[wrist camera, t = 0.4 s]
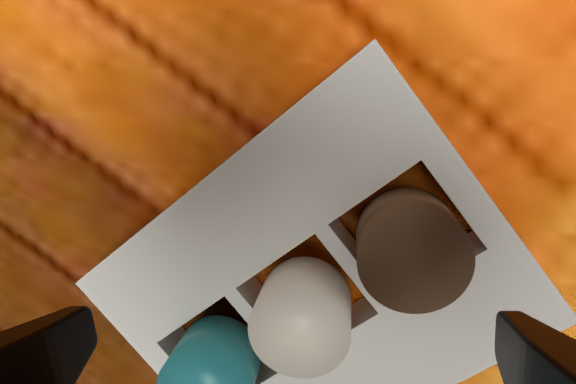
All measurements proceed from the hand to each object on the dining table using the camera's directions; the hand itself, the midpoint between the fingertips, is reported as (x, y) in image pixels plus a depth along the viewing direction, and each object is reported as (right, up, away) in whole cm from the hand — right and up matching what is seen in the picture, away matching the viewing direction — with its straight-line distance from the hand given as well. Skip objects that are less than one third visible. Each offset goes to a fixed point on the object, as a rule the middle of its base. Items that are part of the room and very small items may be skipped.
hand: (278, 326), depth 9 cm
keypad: (+1, -2, +14) cm, 15 cm away
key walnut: (+6, +1, +11) cm, 12 cm away
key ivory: (+1, -3, +12) cm, 13 cm away
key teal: (-3, -6, +14) cm, 16 cm away
